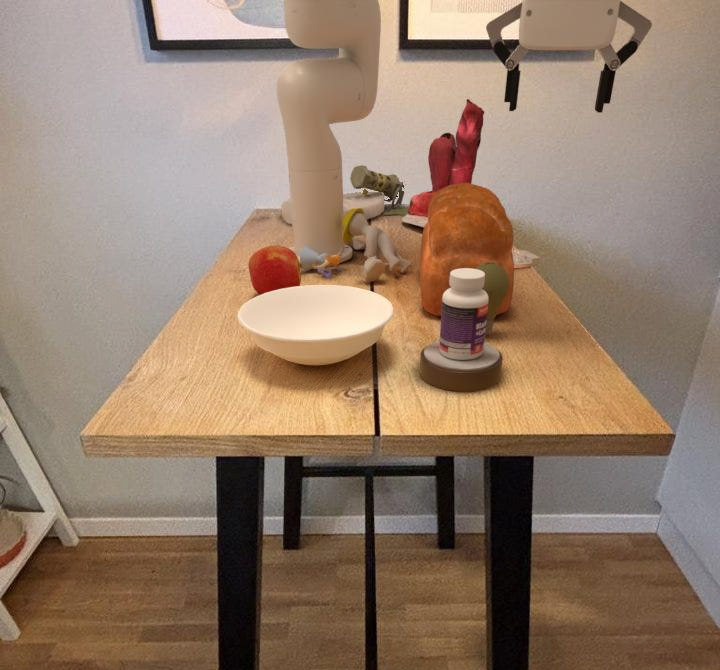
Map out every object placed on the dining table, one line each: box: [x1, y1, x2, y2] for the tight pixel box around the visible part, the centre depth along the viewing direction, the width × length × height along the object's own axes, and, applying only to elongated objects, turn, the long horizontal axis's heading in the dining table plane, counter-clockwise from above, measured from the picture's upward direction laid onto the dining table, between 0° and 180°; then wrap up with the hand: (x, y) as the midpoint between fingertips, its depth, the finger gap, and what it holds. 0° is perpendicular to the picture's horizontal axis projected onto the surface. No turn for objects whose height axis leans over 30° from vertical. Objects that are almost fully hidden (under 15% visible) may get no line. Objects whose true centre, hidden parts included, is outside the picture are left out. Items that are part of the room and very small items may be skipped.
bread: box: [419, 182, 515, 317], centre depth 102 cm, size 14×26×16 cm, turn 176°
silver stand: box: [419, 339, 504, 392], centre depth 81 cm, size 10×10×3 cm
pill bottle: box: [439, 268, 489, 360], centre depth 78 cm, size 5×5×10 cm
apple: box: [247, 245, 302, 295], centre depth 103 cm, size 8×8×8 cm
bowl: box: [237, 284, 395, 366], centre depth 85 cm, size 20×20×6 cm
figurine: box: [342, 208, 412, 283], centre depth 115 cm, size 10×9×15 cm
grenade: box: [349, 164, 405, 209], centre depth 153 cm, size 7×7×15 cm
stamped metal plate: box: [512, 247, 541, 269], centre depth 120 cm, size 8×7×2 cm
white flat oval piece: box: [280, 192, 385, 225], centre depth 152 cm, size 22×28×3 cm
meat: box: [401, 98, 485, 228], centre depth 140 cm, size 23×24×25 cm
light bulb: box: [475, 262, 509, 337], centre depth 89 cm, size 6×6×10 cm
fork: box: [351, 237, 367, 251], centre depth 131 cm, size 3×21×3 cm, turn 24°
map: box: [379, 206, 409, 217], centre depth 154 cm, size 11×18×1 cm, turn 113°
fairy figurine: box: [298, 246, 343, 279], centre depth 116 cm, size 12×5×12 cm
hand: (554, 110), depth 76 cm, fingers open, 9 cm apart
